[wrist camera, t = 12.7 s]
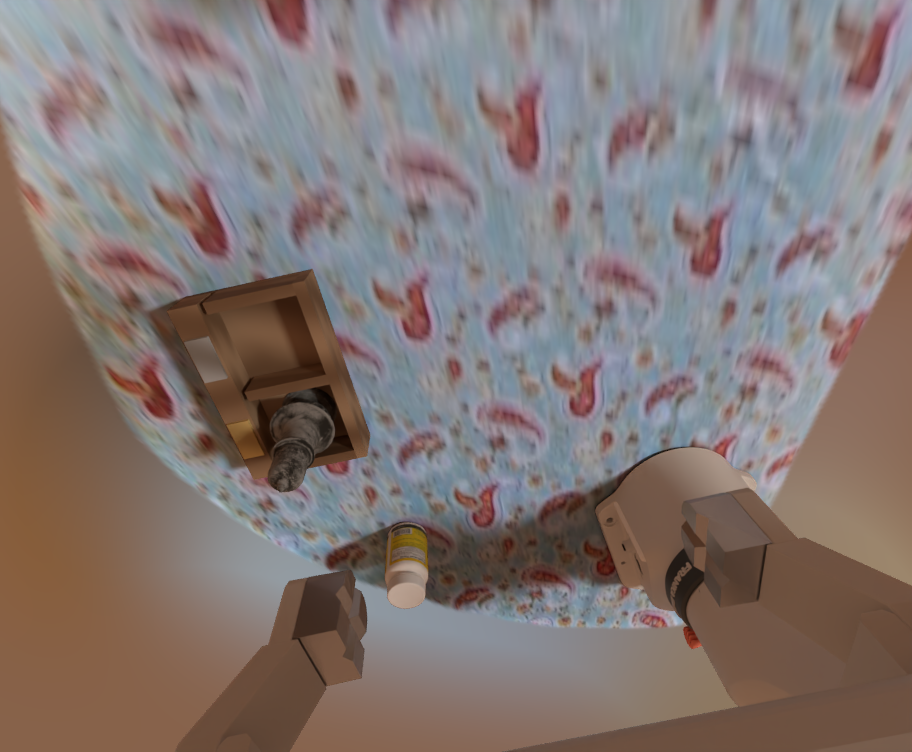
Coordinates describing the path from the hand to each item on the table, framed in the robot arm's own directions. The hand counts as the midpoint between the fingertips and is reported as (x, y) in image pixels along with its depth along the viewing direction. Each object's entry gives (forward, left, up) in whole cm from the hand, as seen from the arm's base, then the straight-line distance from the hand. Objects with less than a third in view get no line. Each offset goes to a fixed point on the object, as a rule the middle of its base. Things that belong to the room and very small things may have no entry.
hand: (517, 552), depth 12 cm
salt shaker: (-13, +17, -33) cm, 39 cm away
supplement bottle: (-33, +12, -34) cm, 49 cm away
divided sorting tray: (-9, +18, -34) cm, 39 cm away
